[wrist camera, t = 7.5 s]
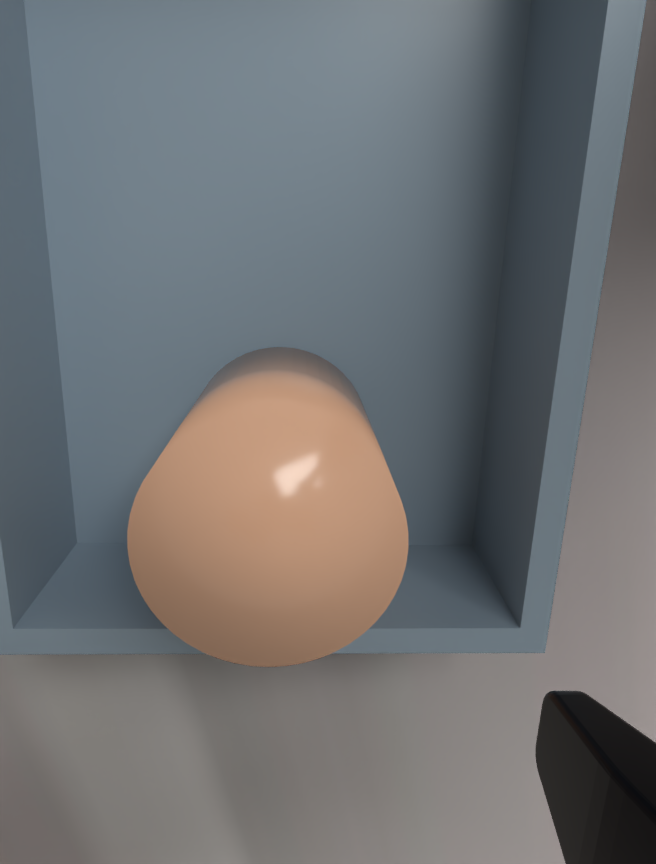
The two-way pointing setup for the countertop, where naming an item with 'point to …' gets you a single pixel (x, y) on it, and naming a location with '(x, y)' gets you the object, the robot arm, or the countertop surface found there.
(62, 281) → the slate tote
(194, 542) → the terracotta cylinder
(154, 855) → the countertop surface
